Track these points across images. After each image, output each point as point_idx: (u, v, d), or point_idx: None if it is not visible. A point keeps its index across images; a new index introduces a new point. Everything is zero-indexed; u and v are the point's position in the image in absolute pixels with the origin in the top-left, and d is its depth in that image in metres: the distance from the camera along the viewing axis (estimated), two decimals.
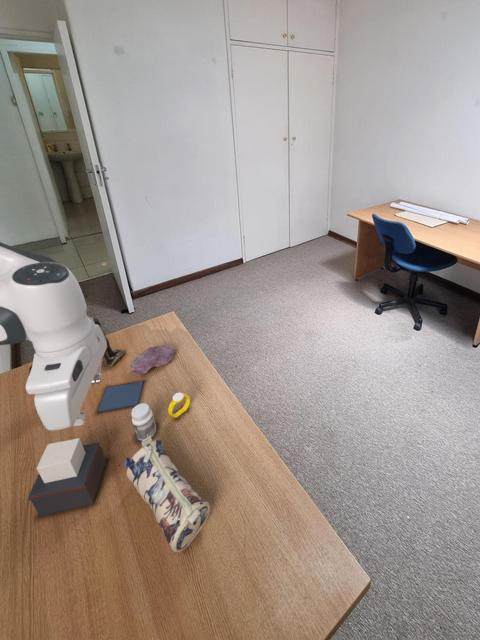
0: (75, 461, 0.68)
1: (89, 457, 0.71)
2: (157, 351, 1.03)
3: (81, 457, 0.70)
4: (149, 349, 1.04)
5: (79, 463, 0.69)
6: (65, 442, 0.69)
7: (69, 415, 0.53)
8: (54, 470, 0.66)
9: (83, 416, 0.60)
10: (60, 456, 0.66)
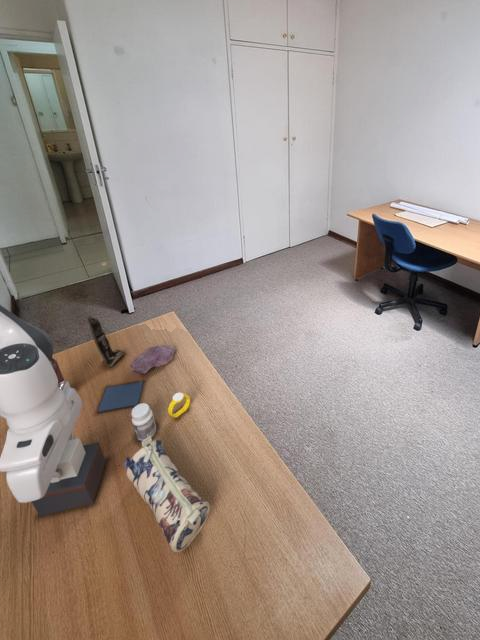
0: (75, 461, 0.68)
1: (89, 457, 0.71)
2: (157, 351, 1.03)
3: (81, 457, 0.70)
4: (149, 349, 1.04)
5: (79, 463, 0.69)
6: None
7: (39, 489, 0.57)
8: None
9: (59, 473, 0.65)
10: None
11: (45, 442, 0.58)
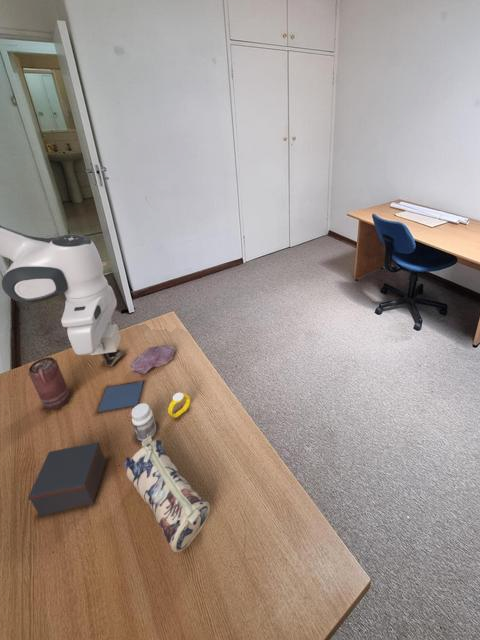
0: (114, 340, 0.84)
1: (89, 457, 0.71)
2: (157, 351, 1.03)
3: (118, 339, 0.86)
4: (149, 349, 1.04)
5: (117, 343, 0.85)
6: None
7: (91, 344, 0.73)
8: None
9: (102, 346, 0.81)
10: (103, 334, 0.82)
11: (95, 308, 0.74)
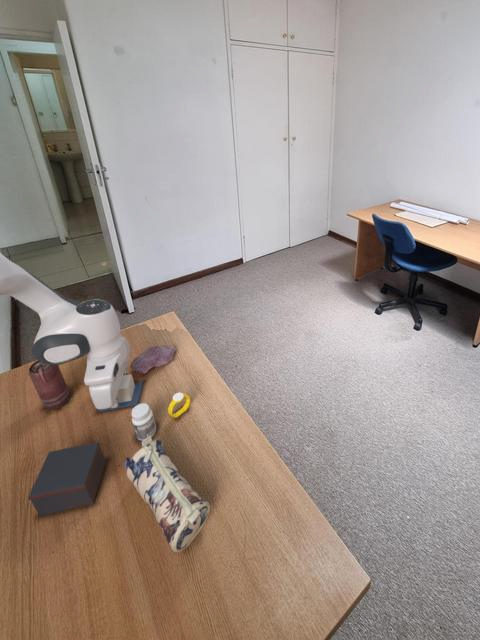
0: (130, 390, 0.92)
1: (89, 457, 0.71)
2: (157, 351, 1.03)
3: (133, 388, 0.94)
4: (149, 349, 1.04)
5: (132, 392, 0.93)
6: None
7: (111, 399, 0.81)
8: None
9: (117, 401, 0.88)
10: (120, 385, 0.90)
11: (114, 367, 0.82)
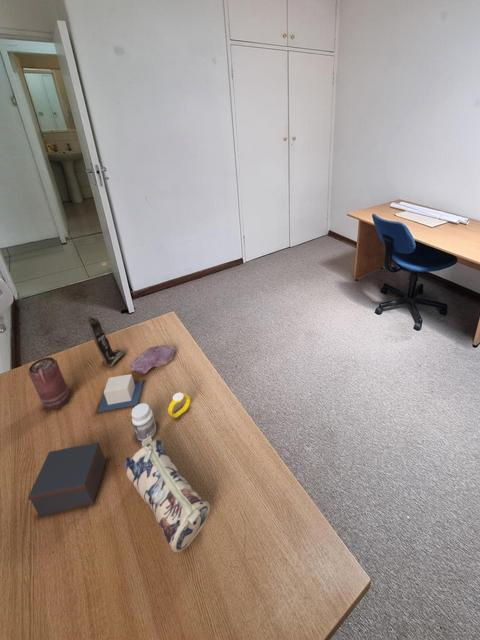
0: (130, 390, 0.92)
1: (89, 457, 0.71)
2: (157, 351, 1.03)
3: (133, 388, 0.94)
4: (149, 349, 1.04)
5: (132, 392, 0.93)
6: (121, 376, 0.93)
7: None
8: (116, 394, 0.90)
9: None
10: (120, 385, 0.90)
11: None
